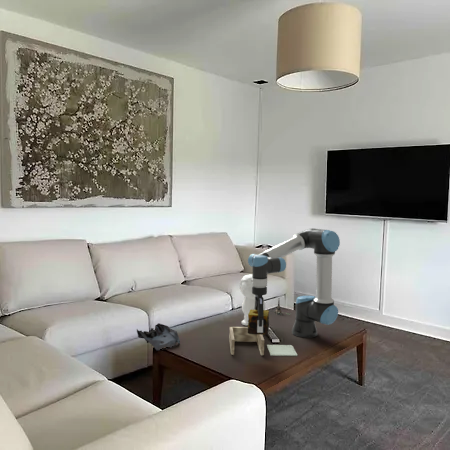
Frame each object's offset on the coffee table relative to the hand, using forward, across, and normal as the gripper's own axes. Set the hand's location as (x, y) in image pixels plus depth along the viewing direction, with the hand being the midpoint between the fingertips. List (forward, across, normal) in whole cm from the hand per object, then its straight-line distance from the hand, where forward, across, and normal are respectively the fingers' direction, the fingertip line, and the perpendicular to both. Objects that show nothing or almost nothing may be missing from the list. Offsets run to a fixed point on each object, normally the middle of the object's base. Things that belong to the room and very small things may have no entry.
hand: (258, 328), depth 217 cm
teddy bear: (+16, -50, +3) cm, 52 cm away
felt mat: (+15, -9, +14) cm, 23 cm away
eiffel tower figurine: (+17, -79, +24) cm, 85 cm away
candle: (+2, 0, 0) cm, 2 cm away
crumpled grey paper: (+15, -16, -53) cm, 57 cm away
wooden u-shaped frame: (+15, -13, -5) cm, 21 cm away
